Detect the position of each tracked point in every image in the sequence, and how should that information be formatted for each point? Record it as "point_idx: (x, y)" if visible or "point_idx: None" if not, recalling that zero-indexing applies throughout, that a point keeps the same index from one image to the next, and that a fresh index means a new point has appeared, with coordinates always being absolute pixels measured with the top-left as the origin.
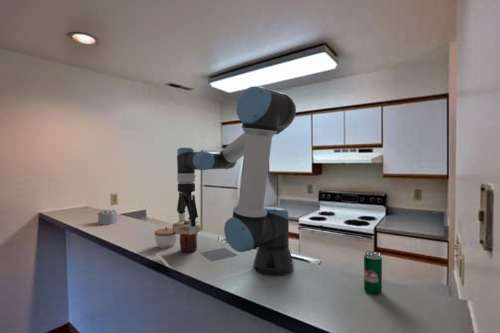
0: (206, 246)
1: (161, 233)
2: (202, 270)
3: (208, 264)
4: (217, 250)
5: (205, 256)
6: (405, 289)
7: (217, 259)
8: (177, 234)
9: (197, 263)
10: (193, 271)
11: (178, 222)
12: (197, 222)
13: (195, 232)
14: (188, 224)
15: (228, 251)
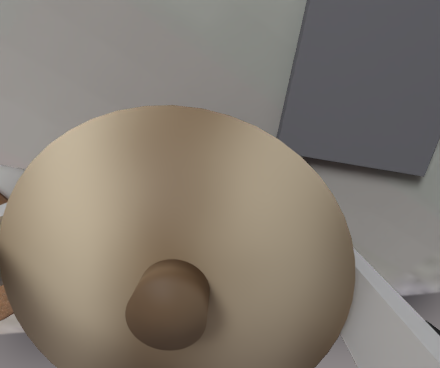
0: (170, 36)
1: (8, 311)
2: (435, 240)
3: (407, 188)
4: (323, 50)
5: (346, 162)
6: None
7: (433, 141)
8: (6, 184)
9: (356, 216)
10: (411, 268)
11: (34, 319)
12: (197, 148)
13: (355, 254)
14: (219, 292)
15: (393, 3)
